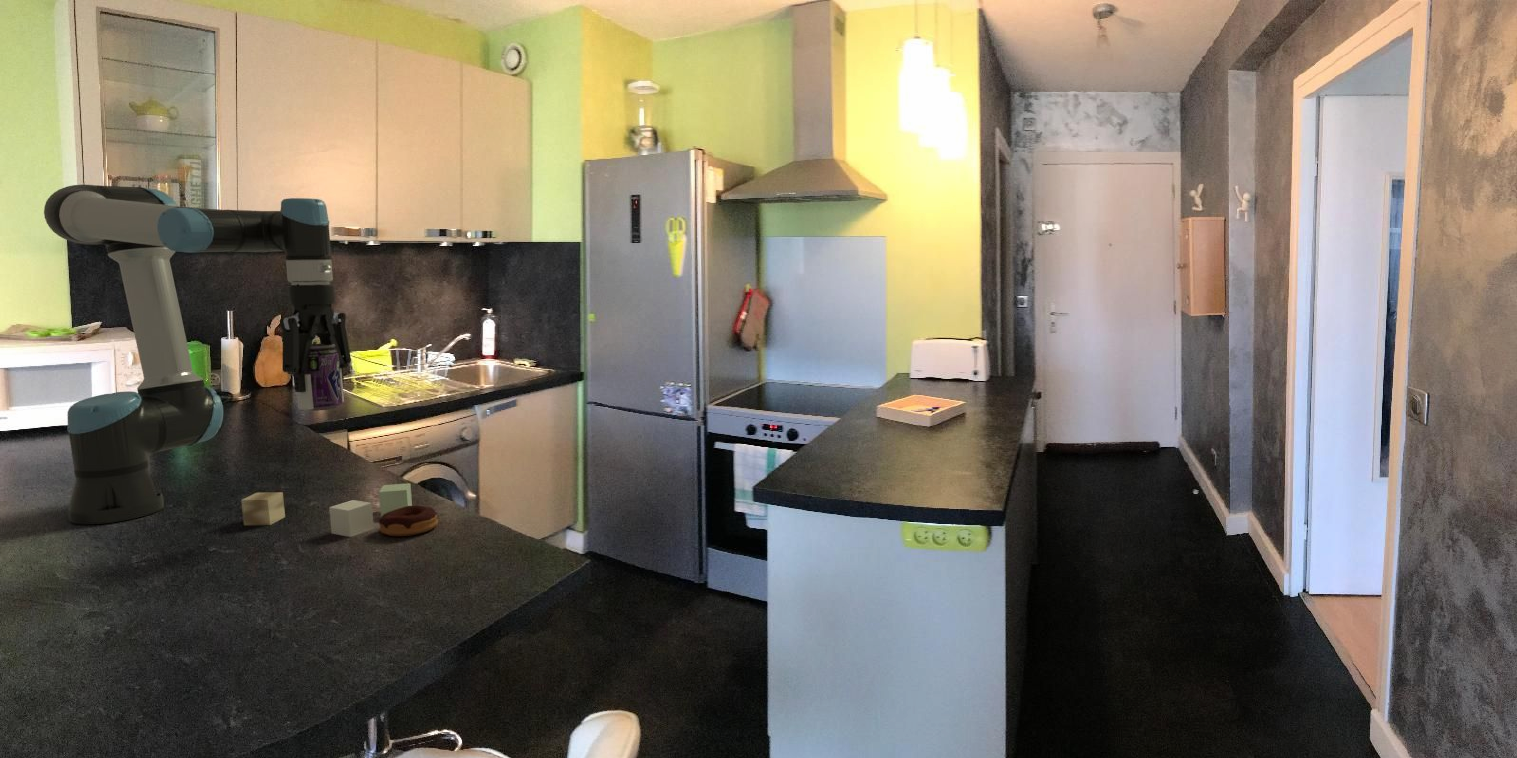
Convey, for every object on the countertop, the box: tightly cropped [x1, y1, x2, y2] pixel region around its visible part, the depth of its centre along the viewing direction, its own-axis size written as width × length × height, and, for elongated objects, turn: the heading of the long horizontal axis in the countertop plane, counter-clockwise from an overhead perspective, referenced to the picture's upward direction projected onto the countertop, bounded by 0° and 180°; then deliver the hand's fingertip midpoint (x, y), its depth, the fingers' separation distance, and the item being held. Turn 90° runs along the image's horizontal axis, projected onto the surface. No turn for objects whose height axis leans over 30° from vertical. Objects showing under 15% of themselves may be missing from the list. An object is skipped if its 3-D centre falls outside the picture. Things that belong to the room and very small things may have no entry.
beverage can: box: [299, 343, 344, 412], centre depth 162 cm, size 7×7×12 cm
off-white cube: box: [328, 499, 375, 538], centre depth 157 cm, size 5×5×5 cm
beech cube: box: [241, 491, 286, 526], centre depth 164 cm, size 5×5×5 cm
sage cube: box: [378, 483, 413, 518], centre depth 168 cm, size 5×5×5 cm
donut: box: [378, 504, 439, 537], centre depth 157 cm, size 10×10×4 cm
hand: (321, 405), depth 162 cm, fingers closed on beverage can, 7 cm apart
